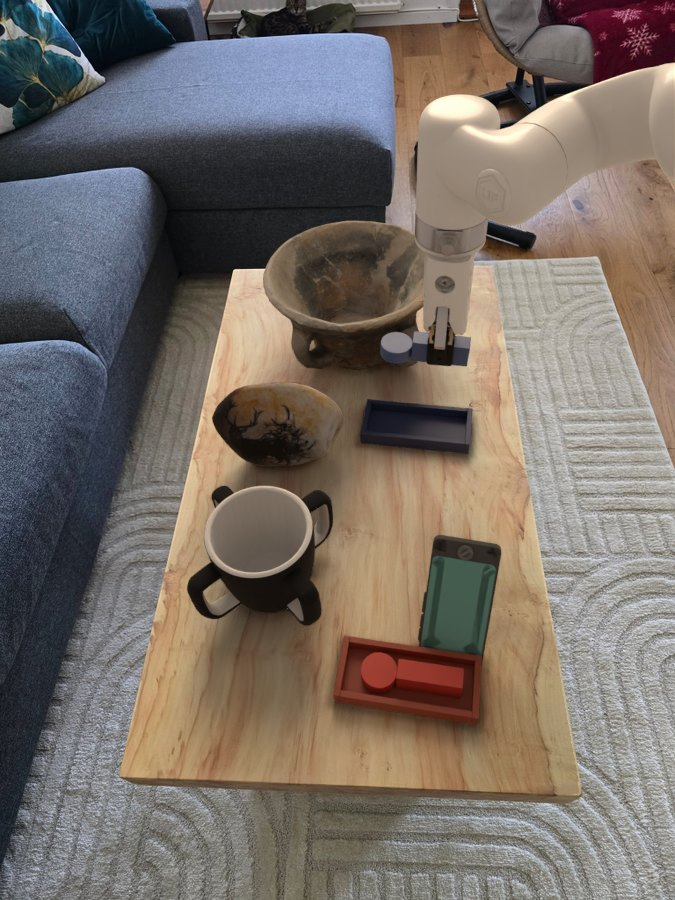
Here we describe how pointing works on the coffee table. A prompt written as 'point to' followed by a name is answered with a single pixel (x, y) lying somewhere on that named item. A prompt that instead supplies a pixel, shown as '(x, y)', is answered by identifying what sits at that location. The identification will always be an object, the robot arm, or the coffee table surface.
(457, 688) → the red spoon
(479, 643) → the smartphone
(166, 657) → the coffee table surface
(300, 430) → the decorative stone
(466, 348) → the blue spoon
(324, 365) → the bowl
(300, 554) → the mug
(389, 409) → the blue tray
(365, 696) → the red tray
